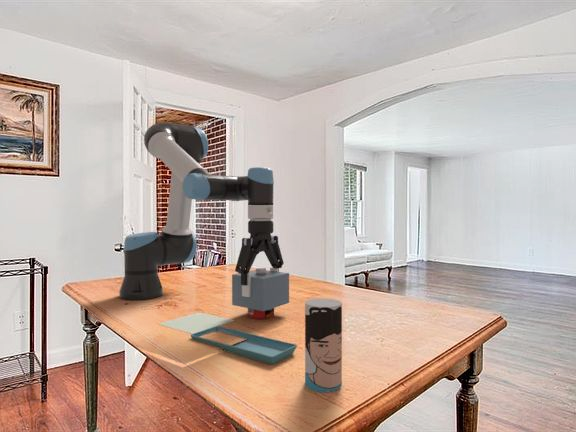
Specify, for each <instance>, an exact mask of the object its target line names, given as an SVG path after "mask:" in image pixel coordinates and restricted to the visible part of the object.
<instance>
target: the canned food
mask: <svg viewBox="0 0 576 432" xmlns="http://www.w3.org/2000/svg"><path fill="white" fill-rule="evenodd" d="M274 316H275V308H272V309H269V310H266V311H260V310H255V309H250V308H247V317H248V318H251V319H255V320H263V319H270V318H273V317H274Z"/></svg>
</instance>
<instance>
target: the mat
mask: <svg viewBox="0 0 576 432" xmlns="http://www.w3.org/2000/svg"><path fill="white" fill-rule="evenodd" d="M234 321H236V320H235V319H230V318H226V317H222V316H219V315H218V316H216V315H212V314H209V313H205V312H199V311H198V312H196V313H192V314H189V315H188V314H187V315H184V316H180V317H177V318H173V319H169V320H166V321H162V322H159V323H157V325H160V326H164V327H165V328H166V327H167V328H171V329H172V330H173V329H174V330H177V331H180V332H185V333H188V334H190V335H191V334H194V333H197V332H200V331H203V330H206V329H209V328H212V327H215V326H220V327H221V326H223V325H226V324H228V323H232V322H234Z"/></svg>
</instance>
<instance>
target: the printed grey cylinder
mask: <svg viewBox="0 0 576 432" xmlns="http://www.w3.org/2000/svg"><path fill="white" fill-rule="evenodd" d="M304 304H305V305H304V307H305V308H304V327H305V328H304V362H305V363H304V384H305V387H307V388H308V390H309V389H310V390H312V391H314V392H321V393H328V392H327V391H332V392H335V391H338V390H339V389H341V388H342V386H343V385H342V384H343V383H342V382H343V381H342V380H343V377H342V376H343V375H342V373H343V369H342V368H343V365H342V363H343V361H342V360H343V359H342V358H343V356H342V355H343V351H342V347H343V346H342V345H343V343H342V342H343V338H342V337H343V333H342V332H343V331H342V330H343V329H342V328H343V320H342V319H343V310H342V309H343V306H342V305H343V303H342V301H341V300H338V299H335V298H334V299H333V298H323V297H320V298H319V297H317V298H309V299H307V300H305V302H304ZM337 389H338V390H337Z"/></svg>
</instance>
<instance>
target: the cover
mask: <svg viewBox="0 0 576 432" xmlns="http://www.w3.org/2000/svg"><path fill="white" fill-rule="evenodd" d="M248 274H251V297H245V296H242V285H241V274H240V273H238V272H236V273H233V274H232V275H231V302H232V303H231V304H232V306H236V307H239V308H246V309H248V308H250V309H255V310H260V311H266V310H269V309H272V308H274V309H275V308H278V307H281V306H284V305H287V304H289V303H290V272H283V271H279V272H276V271H270V270H268V269H267V268H266V267H256V268H255V269H254V270H253V269H252V270H250V271H249V273H248Z"/></svg>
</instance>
